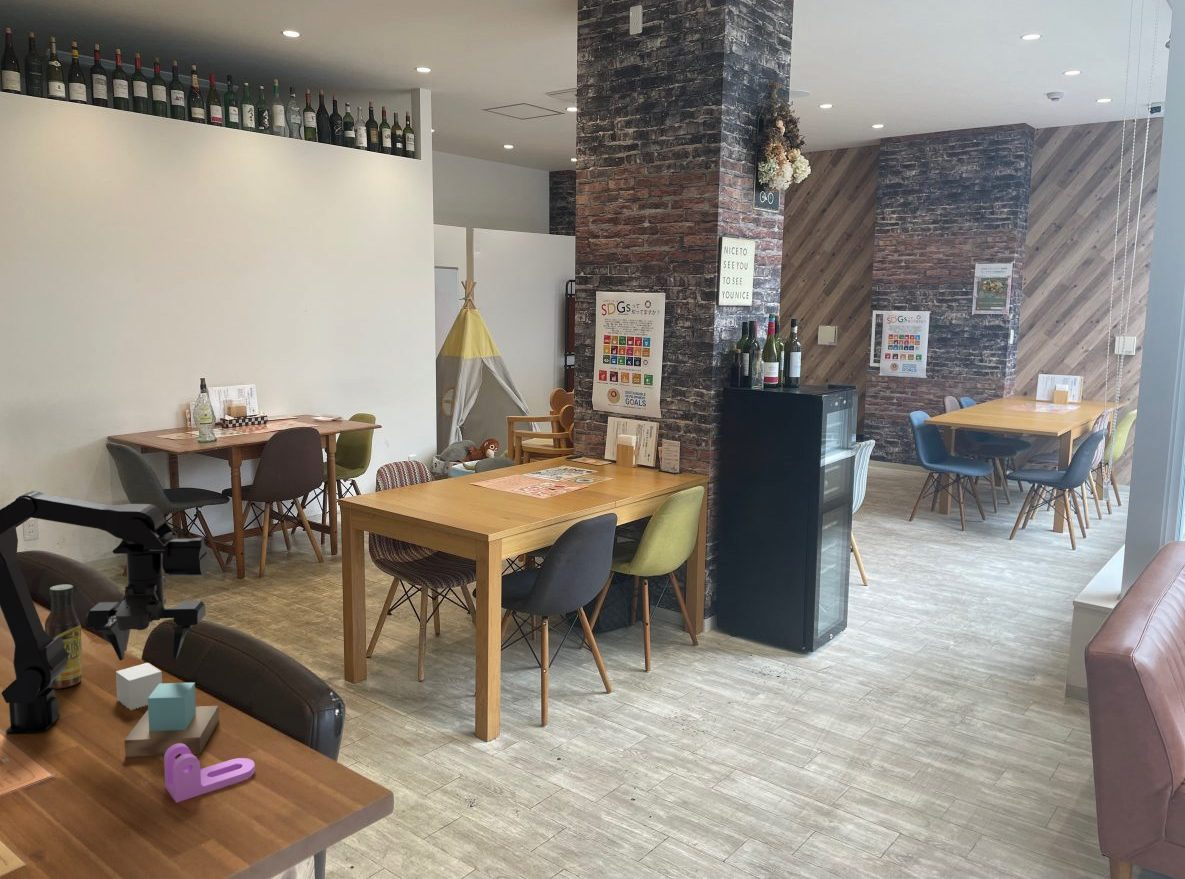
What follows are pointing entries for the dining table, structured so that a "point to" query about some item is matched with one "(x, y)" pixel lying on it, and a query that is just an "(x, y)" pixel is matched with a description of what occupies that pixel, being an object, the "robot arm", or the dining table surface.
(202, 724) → the walnut stand
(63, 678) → the sauce bottle
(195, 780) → the bracket
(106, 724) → the dining table surface
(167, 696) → the teal cube
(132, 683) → the white cube
